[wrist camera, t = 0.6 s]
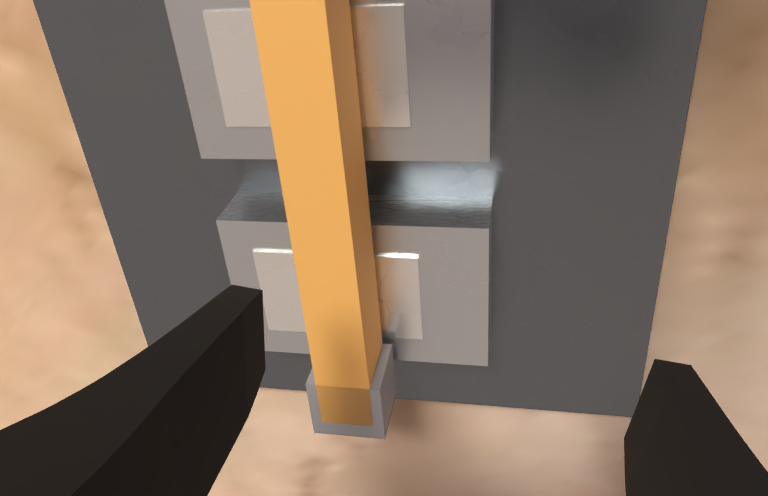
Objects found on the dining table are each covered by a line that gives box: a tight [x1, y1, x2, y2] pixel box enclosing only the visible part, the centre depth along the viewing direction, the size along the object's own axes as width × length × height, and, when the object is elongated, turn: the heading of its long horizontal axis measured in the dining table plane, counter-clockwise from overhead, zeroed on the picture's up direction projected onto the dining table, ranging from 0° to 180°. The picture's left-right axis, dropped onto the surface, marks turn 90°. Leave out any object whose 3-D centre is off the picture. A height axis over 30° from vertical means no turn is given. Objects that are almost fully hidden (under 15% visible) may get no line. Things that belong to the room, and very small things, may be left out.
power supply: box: [164, 0, 495, 162], centre depth 18 cm, size 8×5×2 cm, turn 95°
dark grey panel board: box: [33, 0, 707, 417], centre depth 19 cm, size 18×22×3 cm
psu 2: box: [216, 192, 493, 366], centre depth 22 cm, size 8×5×2 cm, turn 94°
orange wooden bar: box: [249, 0, 396, 439], centre depth 17 cm, size 18×3×2 cm, turn 4°
